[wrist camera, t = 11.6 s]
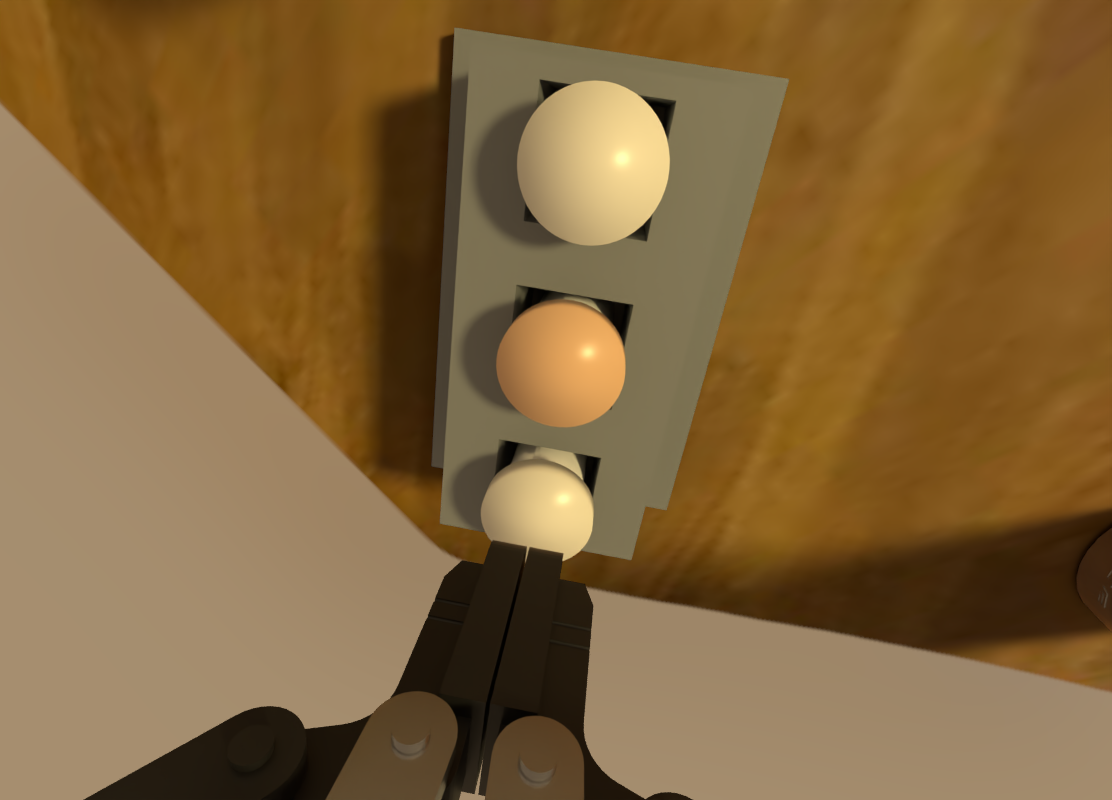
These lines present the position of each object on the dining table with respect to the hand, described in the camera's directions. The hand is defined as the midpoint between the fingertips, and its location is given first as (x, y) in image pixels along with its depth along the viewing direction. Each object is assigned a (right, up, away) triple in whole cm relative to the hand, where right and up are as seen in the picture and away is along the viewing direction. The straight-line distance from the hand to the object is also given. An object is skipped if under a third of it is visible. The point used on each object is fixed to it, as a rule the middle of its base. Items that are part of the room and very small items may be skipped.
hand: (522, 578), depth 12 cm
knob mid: (+2, +8, +16) cm, 18 cm away
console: (+2, +9, +17) cm, 19 cm away
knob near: (+3, +14, +13) cm, 20 cm away
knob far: (+1, +2, +19) cm, 19 cm away
